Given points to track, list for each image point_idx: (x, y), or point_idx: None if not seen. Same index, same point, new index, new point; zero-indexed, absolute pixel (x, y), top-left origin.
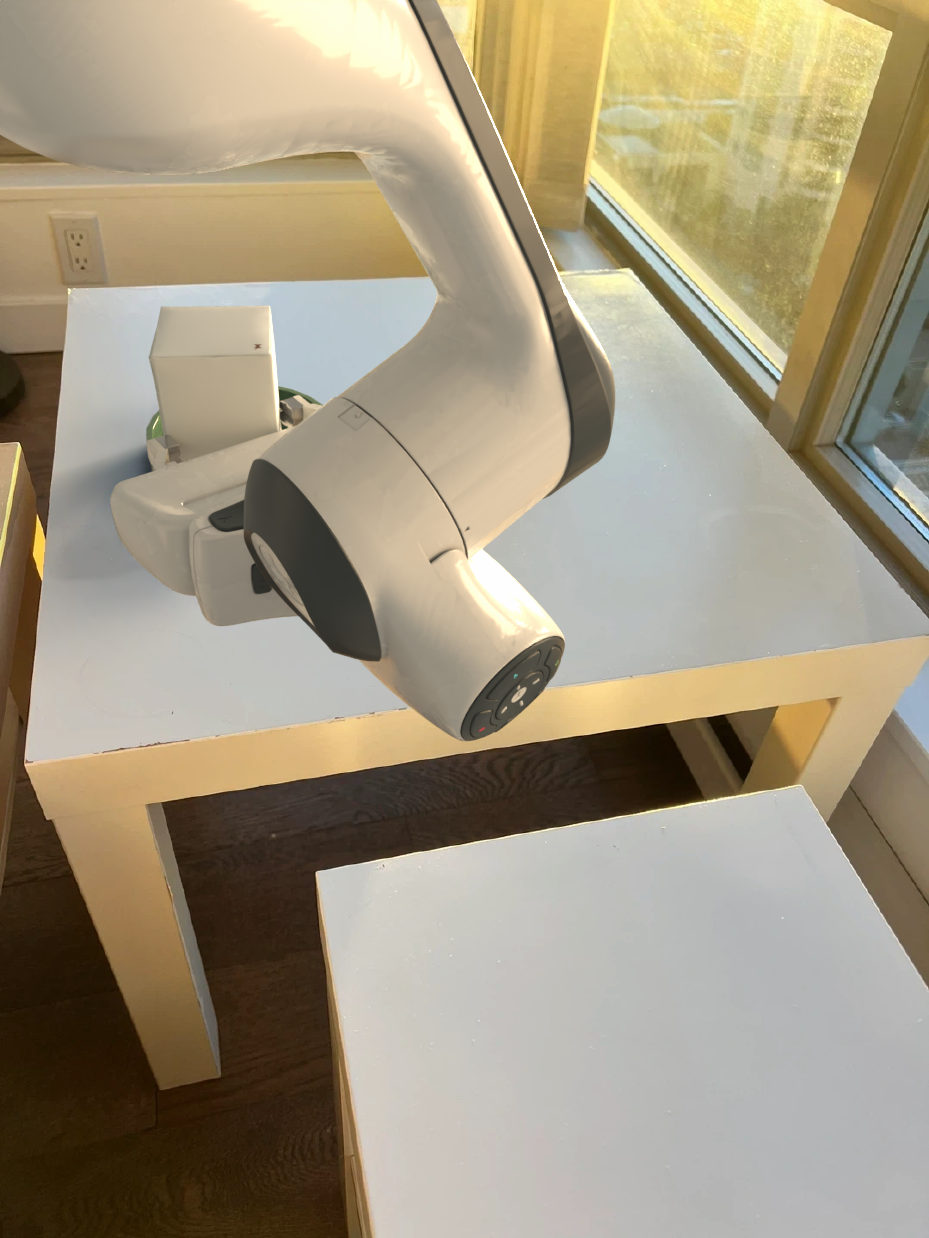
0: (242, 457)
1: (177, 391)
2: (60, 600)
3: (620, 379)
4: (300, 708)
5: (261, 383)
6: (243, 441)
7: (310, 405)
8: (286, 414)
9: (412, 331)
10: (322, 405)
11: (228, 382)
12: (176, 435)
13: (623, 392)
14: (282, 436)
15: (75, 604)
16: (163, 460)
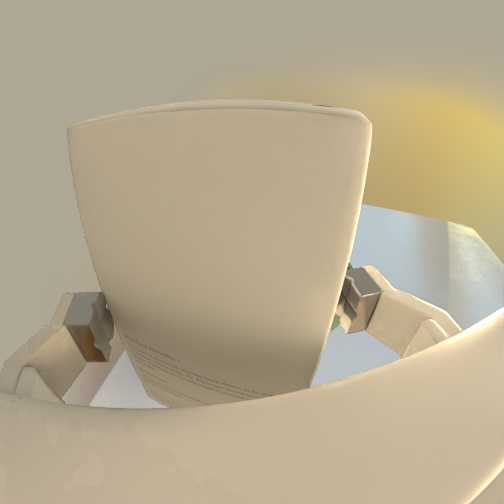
0: (136, 493)
1: (102, 207)
2: (123, 362)
3: (489, 279)
4: None
5: (314, 218)
6: (234, 351)
7: (395, 293)
8: (344, 297)
9: (394, 231)
10: (349, 263)
11: (208, 197)
12: (114, 297)
13: (493, 287)
14: (332, 425)
15: (128, 370)
16: (29, 354)
